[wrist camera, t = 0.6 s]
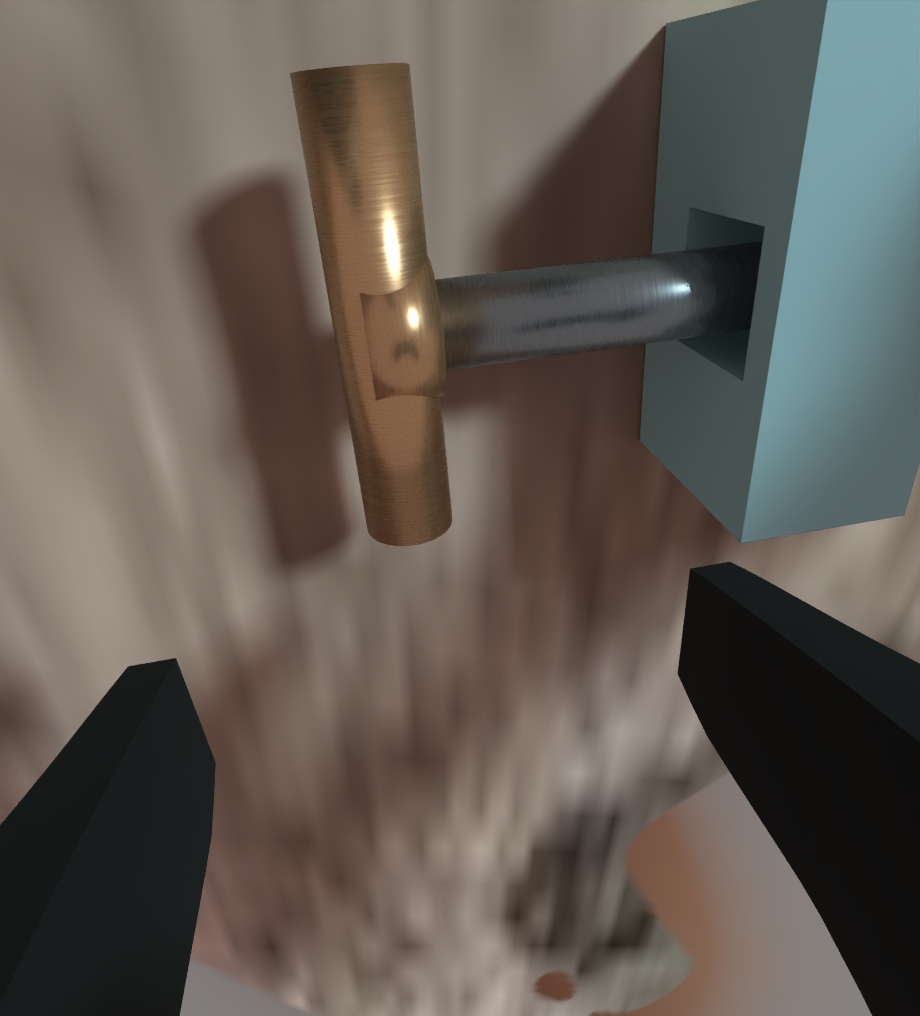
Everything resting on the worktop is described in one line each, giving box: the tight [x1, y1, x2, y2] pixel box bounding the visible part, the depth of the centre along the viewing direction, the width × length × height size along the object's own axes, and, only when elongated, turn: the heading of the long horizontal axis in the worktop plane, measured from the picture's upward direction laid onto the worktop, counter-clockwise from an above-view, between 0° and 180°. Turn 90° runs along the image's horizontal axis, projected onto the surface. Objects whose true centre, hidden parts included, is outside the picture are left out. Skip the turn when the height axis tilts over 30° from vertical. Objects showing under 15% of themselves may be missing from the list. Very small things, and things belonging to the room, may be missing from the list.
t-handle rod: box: [290, 63, 763, 546], centre depth 15 cm, size 14×9×3 cm, turn 95°
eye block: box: [640, 0, 920, 543], centre depth 15 cm, size 4×10×6 cm, turn 5°
